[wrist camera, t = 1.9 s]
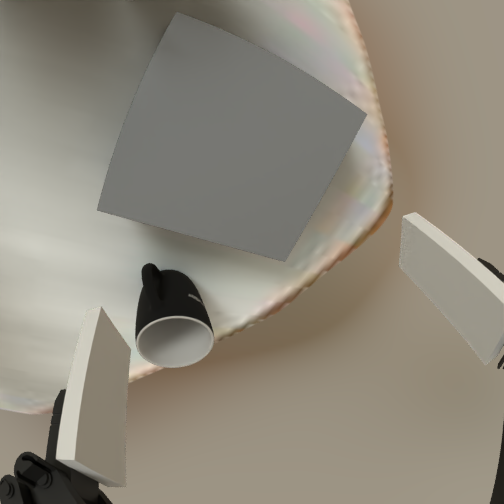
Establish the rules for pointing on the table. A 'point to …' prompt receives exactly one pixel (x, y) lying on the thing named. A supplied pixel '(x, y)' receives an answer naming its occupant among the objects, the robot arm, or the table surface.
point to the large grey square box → (227, 142)
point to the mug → (171, 320)
